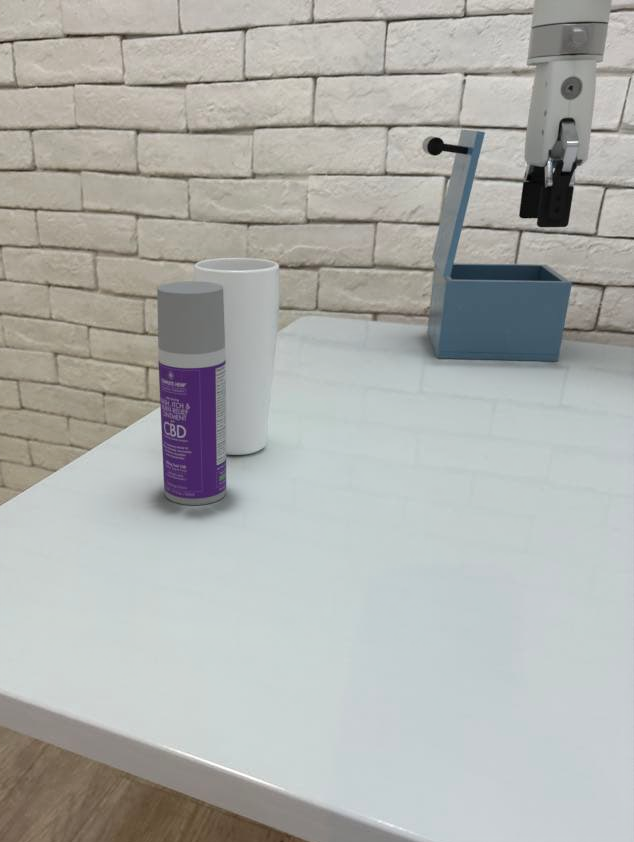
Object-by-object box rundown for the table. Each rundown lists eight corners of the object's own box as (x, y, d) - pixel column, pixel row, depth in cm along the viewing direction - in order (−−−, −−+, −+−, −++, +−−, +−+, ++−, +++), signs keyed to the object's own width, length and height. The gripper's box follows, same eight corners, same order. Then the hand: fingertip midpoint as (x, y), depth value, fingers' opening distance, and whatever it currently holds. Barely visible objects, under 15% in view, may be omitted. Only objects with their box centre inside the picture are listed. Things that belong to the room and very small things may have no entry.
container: (157, 503, 60) (147, 292, 53) (172, 478, 64) (164, 280, 57) (220, 507, 59) (218, 294, 52) (231, 482, 63) (230, 281, 56)
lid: (468, 130, 96) (423, 124, 96) (485, 132, 84) (435, 125, 85) (438, 259, 102) (396, 253, 103) (450, 276, 91) (403, 270, 92)
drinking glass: (183, 454, 69) (178, 267, 62) (215, 428, 74) (213, 255, 67) (259, 465, 66) (262, 273, 59) (286, 438, 72) (291, 260, 65)
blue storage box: (534, 335, 105) (546, 264, 101) (557, 361, 94) (572, 282, 90) (427, 333, 107) (434, 263, 103) (437, 358, 96) (446, 280, 92)
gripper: (630, 38, 77) (597, 230, 85) (581, 53, 93) (558, 214, 100) (547, 41, 78) (523, 231, 86) (513, 55, 94) (495, 215, 101)
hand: (542, 222), depth 93 cm, fingers open, 9 cm apart
